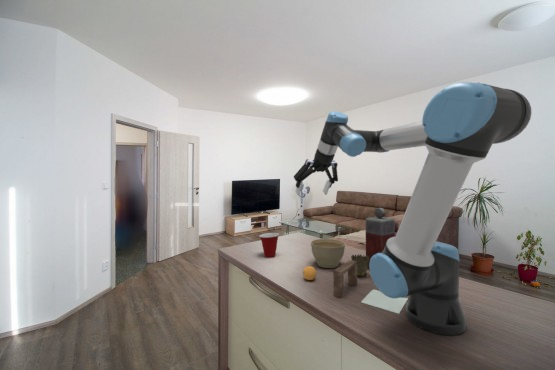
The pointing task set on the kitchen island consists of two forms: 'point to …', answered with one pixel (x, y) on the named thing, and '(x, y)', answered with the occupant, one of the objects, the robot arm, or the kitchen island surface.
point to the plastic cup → (269, 244)
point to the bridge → (339, 277)
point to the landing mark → (384, 301)
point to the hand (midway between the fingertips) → (311, 193)
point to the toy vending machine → (378, 232)
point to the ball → (309, 273)
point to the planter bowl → (327, 252)
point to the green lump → (361, 264)
